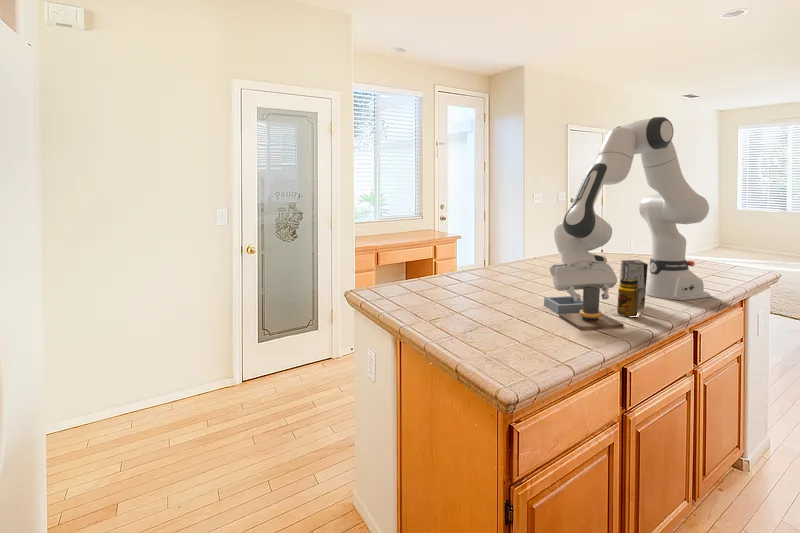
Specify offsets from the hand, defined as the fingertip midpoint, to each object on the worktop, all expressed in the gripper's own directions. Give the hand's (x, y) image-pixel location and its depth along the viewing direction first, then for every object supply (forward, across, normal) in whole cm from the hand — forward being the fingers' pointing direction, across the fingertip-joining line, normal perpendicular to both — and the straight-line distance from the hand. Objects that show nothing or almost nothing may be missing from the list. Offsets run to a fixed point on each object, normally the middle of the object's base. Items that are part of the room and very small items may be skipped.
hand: (592, 299), depth 140 cm
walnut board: (+5, 0, +6) cm, 8 cm away
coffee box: (-5, +24, +17) cm, 30 cm away
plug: (+4, 0, +5) cm, 7 cm away
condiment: (+1, +17, +10) cm, 20 cm away
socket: (-6, 0, +17) cm, 18 cm away
